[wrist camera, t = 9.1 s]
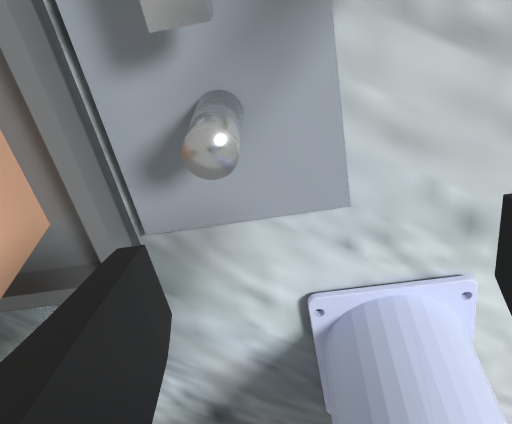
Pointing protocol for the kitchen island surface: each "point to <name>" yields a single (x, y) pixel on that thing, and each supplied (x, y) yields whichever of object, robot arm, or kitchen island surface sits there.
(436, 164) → the kitchen island surface
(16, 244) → the orange hollow square box
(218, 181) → the slate board
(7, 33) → the tray
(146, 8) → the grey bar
